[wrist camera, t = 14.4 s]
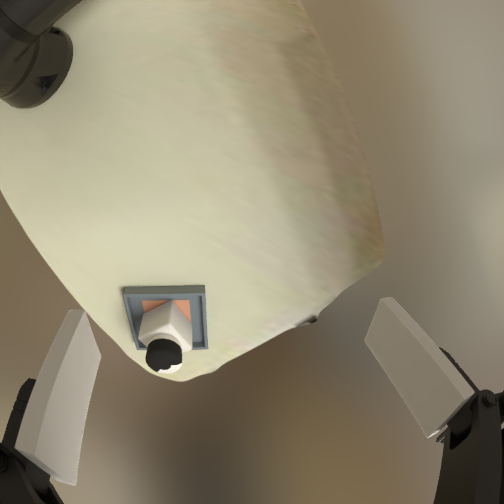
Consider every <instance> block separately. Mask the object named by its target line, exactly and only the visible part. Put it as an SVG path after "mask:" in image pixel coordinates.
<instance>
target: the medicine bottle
mask: <svg viewBox="0 0 504 504" xmlns="http://www.w3.org/2000/svg"><path fill="white" fill-rule="evenodd" d="M138 339H139V340H140V341H141V342H142V343H143V344H144V345H145V346H146V347H147V353H146V363H147V364H148V366H149V367H150V368H151V369H153V370H154V371H156V372H159V373H164V374H169V373H173V372H176V371H177V370H179V369H180V367H181V366H182V353H184V352H187V351H189V350H191V349H192V323H191V322H190V321H189V320H188V319H187V317H186V316H185V315H184V314H183V312H182V311H181V310H180V309H179V307H178V306H177V305H176V304H175V302H174V301H173V300H170V301H168V302H166V303H164V304H162V305H160V306H158V307H156V308H154V309H152V310H150V311H148V312H146V313H144V314H143V318H142V322H141V327H140V331H139V336H138Z"/></svg>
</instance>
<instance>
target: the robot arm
mask: <svg viewBox="0 0 504 504" xmlns="http://www.w3.org/2000/svg"><path fill="white" fill-rule="evenodd" d="M81 1H82V0H0V98H1V99H2V100H4V101H5V102H7V103H8V104H10V105H11V106H13V107H16V108H33V107H36V106H38V105H40V104H42V103H44V102H45V101H46V100H48V99H49V98H50V97H51V96H52V95H53V94H54V93H55V92H56V91H57V89H58V88H59V87H60V85H61V84H62V82H63V81H64V79H65V77H66V75H67V73H68V71H69V68H70V65H71V62H72V57H73V45H72V41H71V39H70V37H69V35H68V34H67V33H66V32H64V31H62V30H61V29H59V28H57V27H52V25H53V24H54V23H55V22H56V21H58V20H59V19H60V18H61V17H62V16H63V15H65V14H66V13H67V12H68V11H70V10H71V9H72V8H73V7H75V6H76V5H77V4H78V3H80V2H81ZM364 341H365V343H366V345H367V346H368V347H369V349H370V350H371V352H372V353H373V355H374V356H375V358H376V359H377V361H378V362H379V364H380V365H381V367H382V368H383V370H384V371H385V373H386V374H387V376H388V377H389V379H390V380H391V382H392V383H393V385H394V386H395V388H396V389H397V391H398V392H399V394H400V396H401V397H402V399H403V400H404V402H405V403H406V405H407V407H408V408H409V410H410V411H411V413H412V415H413V416H414V418H415V419H416V421H417V422H418V424H419V426H420V427H421V429H422V431H423V432H424V434H425V436H426V437H427V438H429V437H430V436H432V435H434V434H435V433H437V432H439V431H440V430H441V429H442V428H443V427H444V426H445V425H446V424H447V425H448V428H447V429H446V430H445V431H444V432H442V433H441V434H440V435H439V437H438V438H437V440H436V442H439V441H440V440H441V439H442V438H443V437H444V436H445V438H444V439H443V440H442V441H441V443H444V449H443V457H442V463H441V470H440V476H439V481H438V486H437V491H436V495H435V500H434V504H504V428H503V429H502V430H501V424H502V423H503V422H504V391H503V392H501V393H497V394H494V393H493V392H491V391H489V390H482V391H479V389H478V388H477V387H476V386H475V385H474V384H473V382H472V381H471V380H470V378H469V377H468V376H467V375H466V374H465V372H464V371H463V370H462V369H461V368H460V366H459V365H458V364H457V363H456V362H455V360H454V359H453V358H452V357H451V356H450V354H449V353H447V352H446V351H445V350H443V349H442V348H440V347H439V348H438V346H437V345H436V344H435V343H434V342H433V341H432V340H431V338H430V337H429V336H428V335H427V334H426V333H425V332H424V331H423V329H422V328H421V327H420V326H419V325H418V324H417V323H416V322H415V321H414V320H413V319H412V317H410V315H409V314H408V313H407V312H406V311H405V310H404V309H403V308H402V307H401V306H400V305H399V304H398V303H397V302H396V300H394V298H393V297H387V298H381V299H380V301H379V304H378V307H377V309H376V312H375V315H374V317H373V320H372V323H371V325H370V327H369V330H368V332H367V335H366V337H365V339H364ZM100 359H101V354H100V352H99V349H98V347H97V344H96V341H95V339H94V336H93V333H92V330H91V327H90V324H89V321H88V318H87V315H86V312H85V310H77V309H70V310H69V311H68V313H67V315H66V317H65V319H64V321H63V323H62V325H61V327H60V329H59V331H58V333H57V335H56V337H55V339H54V341H53V343H52V345H51V348H50V350H49V352H48V354H47V356H46V359H45V361H44V363H43V365H42V368H41V370H40V373H39V375H38V378H37V380H35V379H30V378H29V379H28V380H27V381H26V382H25V383H24V384H23V385H22V386H21V388H20V390H19V393H18V396H17V401H15V403H14V407H13V410H12V412H11V415H10V418H9V421H8V424H7V427H6V431H5V434H4V437H3V440H2V443H0V504H64V503H63V501H62V500H61V498H60V497H59V495H58V494H57V492H56V490H55V488H54V487H53V485H52V484H51V483H50V481H49V479H50V476H51V477H53V478H54V479H56V480H58V481H60V482H63V483H66V484H70V485H74V486H76V482H77V473H78V464H79V457H80V450H81V443H82V437H83V432H84V426H85V421H86V416H87V411H88V407H89V402H90V398H91V394H92V389H93V386H94V382H95V378H96V374H97V370H98V367H99V362H100Z"/></svg>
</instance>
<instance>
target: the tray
mask: <svg viewBox="0 0 504 504" xmlns="http://www.w3.org/2000/svg"><path fill="white" fill-rule="evenodd" d="M123 297H124V302H125V306H126V310H127V314H128V318H129V322H130V326H131V330H132V334H133V337H134V341H135V345H136V348H137V350H147V347H146V346H145V345H144V344H143V343H142V342H141V341H140V340H139V339H138V336H139V331H140V327H141V322H142V318H143V314H144V313H146V312H148V311H150V310H152V309H154V308H156V307H158V306H160V305H162V304H164V303H166V302H168V301H170V300H173V301H174V302H175V304H176V305H177V306H178V307H179V309H180V310H181V311H182V312H183V314H184V315H185V316H186V317H187V319H188V320H189V321H190V322H191V323H192V349H191V350H199V349H208V339H207V321H206V299H205V285H200V286H155V287H125V290H124V293H123Z"/></svg>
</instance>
